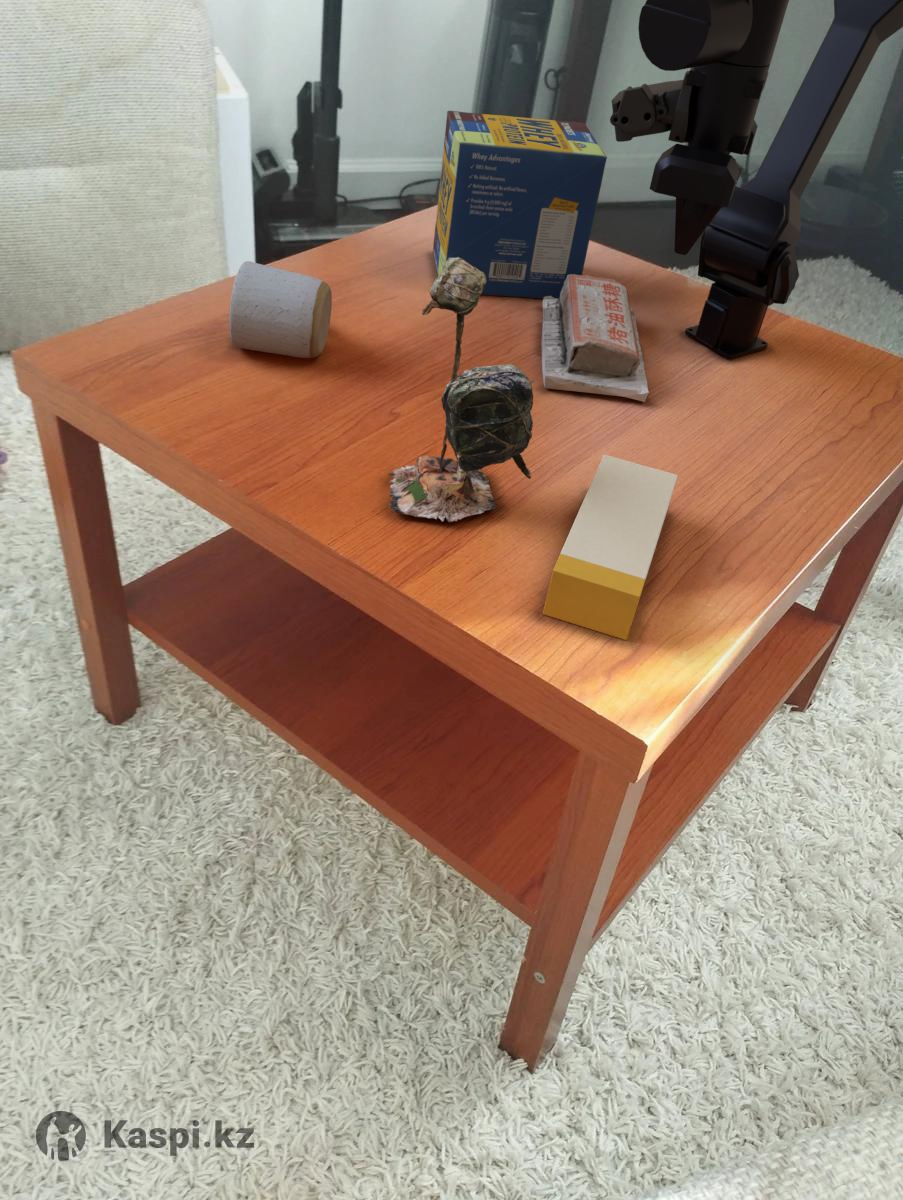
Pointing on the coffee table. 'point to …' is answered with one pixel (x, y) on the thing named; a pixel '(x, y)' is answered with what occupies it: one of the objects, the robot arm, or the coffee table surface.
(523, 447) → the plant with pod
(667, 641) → the coffee table surface
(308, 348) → the grey cylinder
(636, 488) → the block
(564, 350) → the packaged product
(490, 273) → the protein box
